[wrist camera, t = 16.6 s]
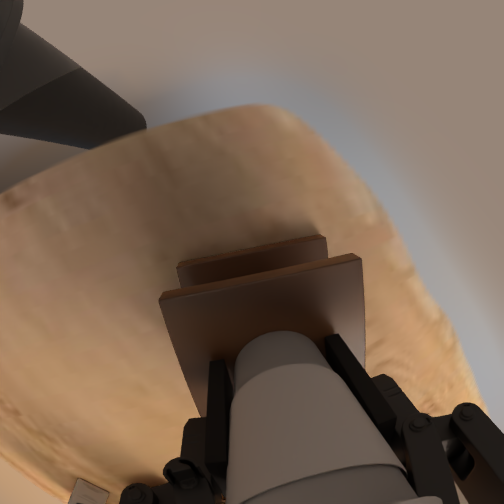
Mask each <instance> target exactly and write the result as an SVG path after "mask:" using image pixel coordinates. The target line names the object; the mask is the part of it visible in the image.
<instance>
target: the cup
mask: <svg viewBox="0 0 504 504" xmlns="http://www.w3.org/2000/svg"><path fill="white" fill-rule="evenodd" d="M407 478H408V474H407V471H406V469H405V468H404V466H403V465H402V464H401V462H400V461H399V459H398V458H397V456H396V455H395V453H394V452H393V451H392V449H391V448H390V446H389V445H388V443H387V442H386V441H385V439H384V438H383V436H382V435H381V433H380V432H379V430H378V429H377V428H376V426H375V425H374V423H373V422H372V420H371V419H370V418H369V416H368V415H367V413H366V412H365V410H364V409H363V407H362V406H361V405H360V403H359V402H358V400H357V399H356V397H355V396H354V395H353V393H352V392H351V390H350V389H349V387H348V386H347V385H346V383H345V382H344V380H343V379H342V378H341V377H340V376H339V375H338V374H337V373H335V372H334V371H333V370H332V368H331V367H330V365H329V364H328V363H327V361H326V360H325V358H324V357H323V355H322V354H321V352H320V351H319V349H318V348H317V346H316V345H315V343H314V342H313V341H312V340H310V339H309V338H308V337H306V336H304V335H302V334H300V333H297V332H292V331H275V332H269V333H266V334H263V335H261V336H259V337H257V338H255V339H253V340H252V341H251V342H249V343H248V344H247V345H246V346H245V347H244V348H243V349H242V350H241V351H240V353H239V355H238V357H237V359H236V362H235V367H234V390H233V400H232V403H231V407H230V411H229V432H228V466H227V477H226V502H225V504H443V503H442V500H441V499H440V498H438V497H436V496H425V497H420V498H418V496H417V495H416V493H415V492H414V490H413V489H412V487H411V486H410V484H409V483H408V481H407V480H406V479H407Z"/></svg>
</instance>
